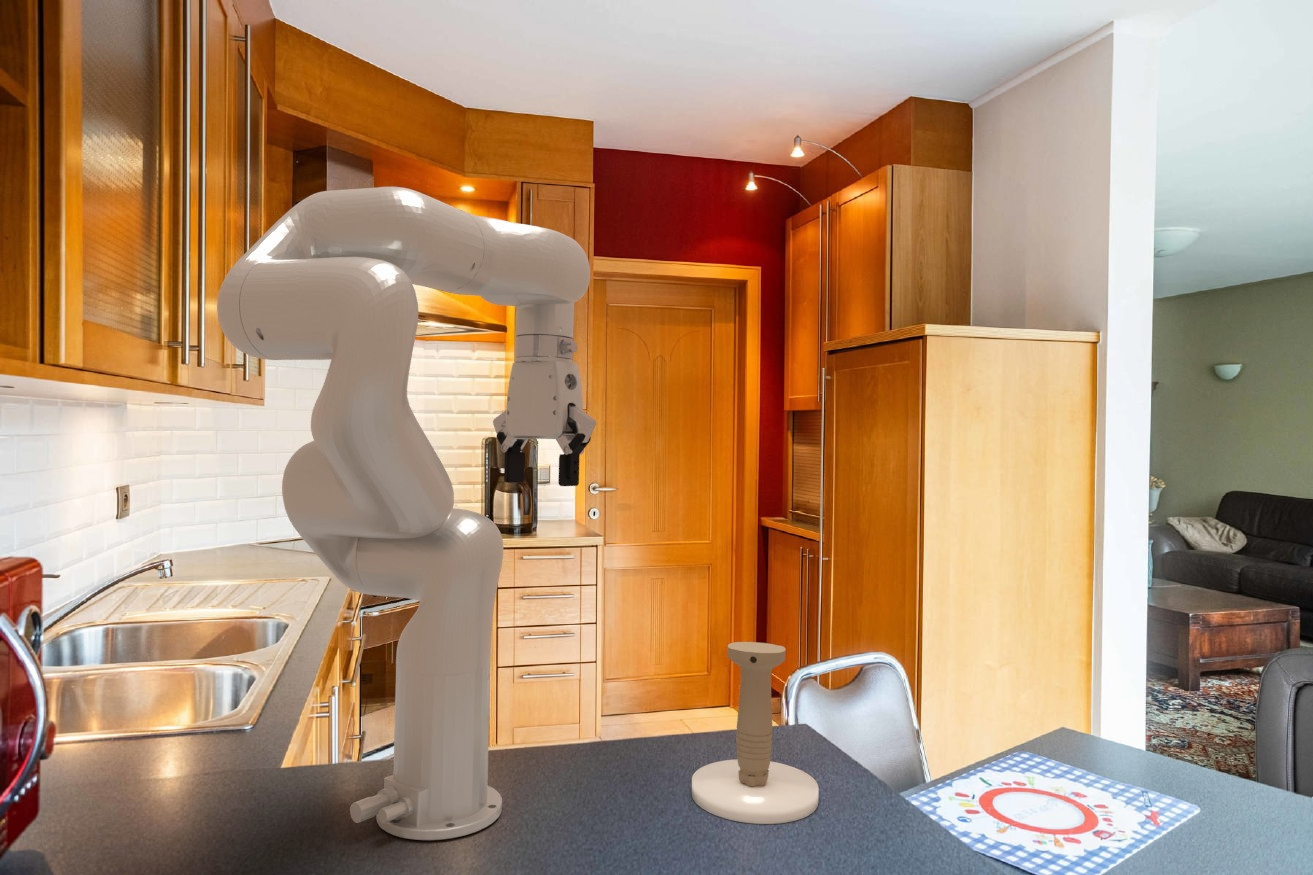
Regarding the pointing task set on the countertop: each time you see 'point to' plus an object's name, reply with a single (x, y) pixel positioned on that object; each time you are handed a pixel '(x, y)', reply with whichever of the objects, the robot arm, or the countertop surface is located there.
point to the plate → (755, 793)
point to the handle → (755, 708)
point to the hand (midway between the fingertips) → (540, 483)
